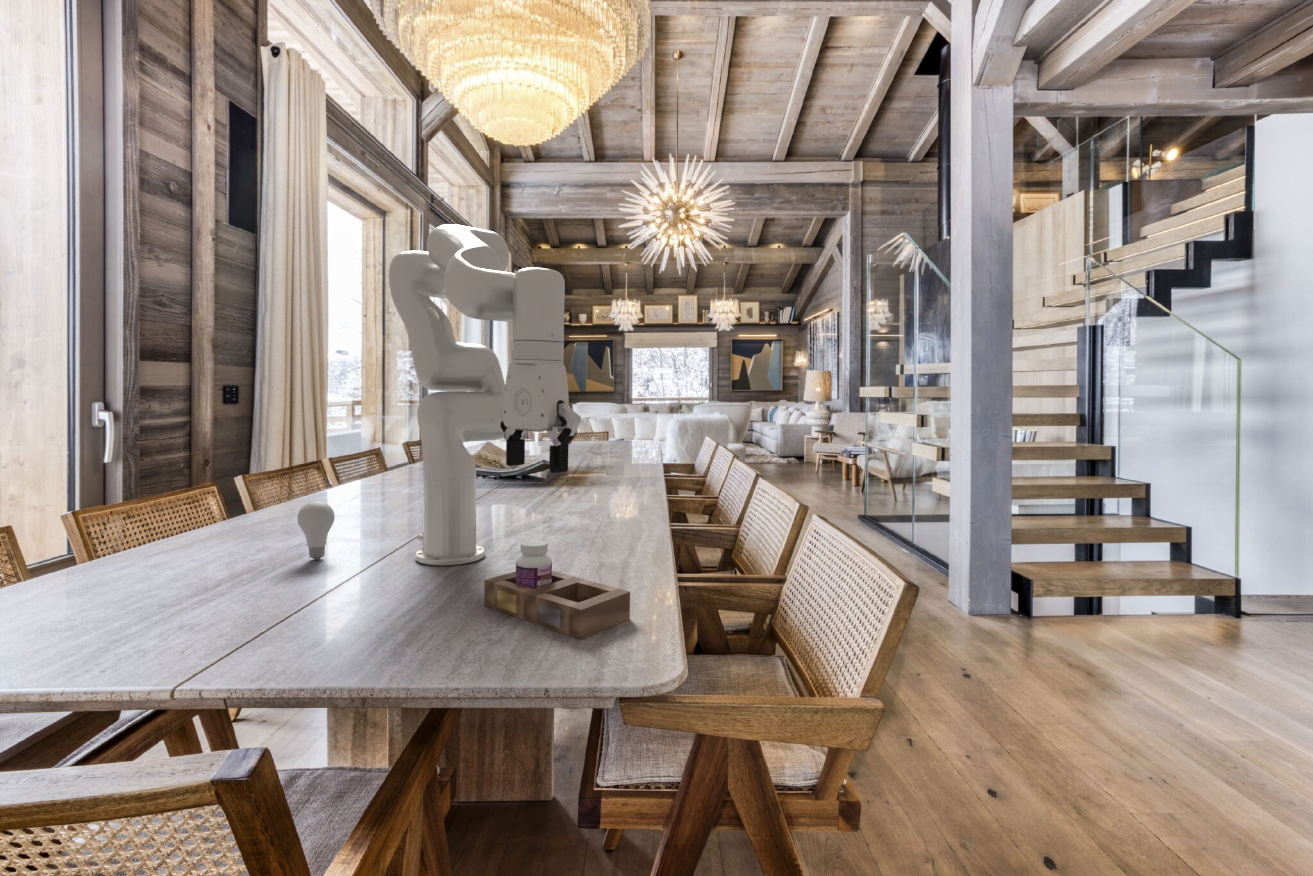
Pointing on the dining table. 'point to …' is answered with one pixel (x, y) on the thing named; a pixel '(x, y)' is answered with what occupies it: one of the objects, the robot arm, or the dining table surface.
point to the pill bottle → (534, 565)
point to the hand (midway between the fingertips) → (536, 468)
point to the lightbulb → (316, 526)
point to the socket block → (560, 603)
